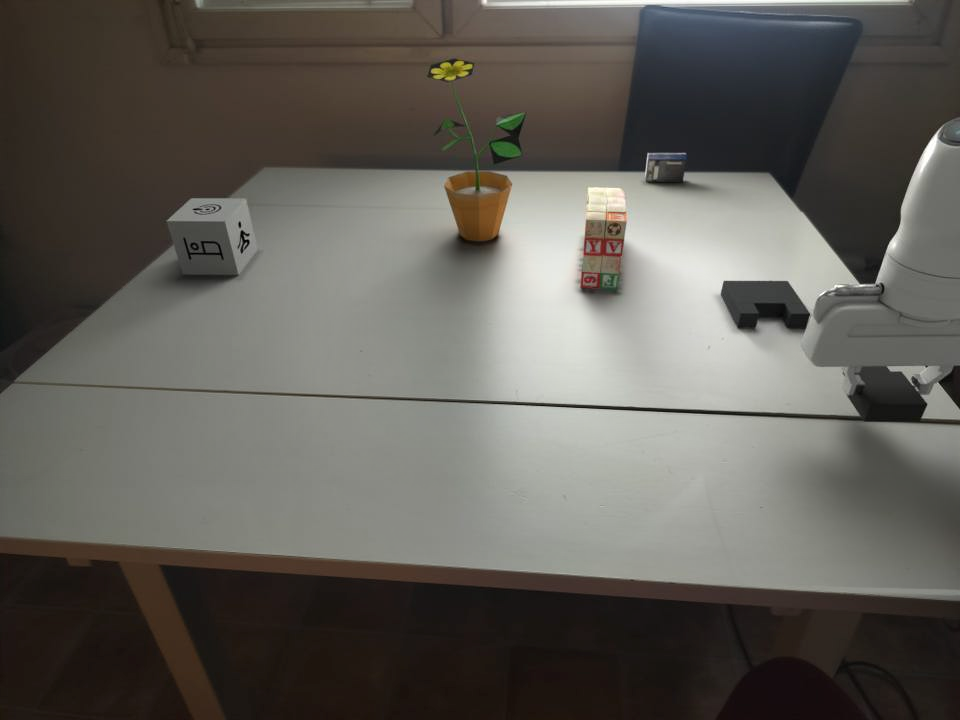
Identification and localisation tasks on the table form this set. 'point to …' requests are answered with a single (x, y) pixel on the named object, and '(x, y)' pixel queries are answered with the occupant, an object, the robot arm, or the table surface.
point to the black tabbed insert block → (887, 397)
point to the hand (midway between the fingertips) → (884, 392)
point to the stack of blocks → (603, 238)
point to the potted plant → (477, 192)
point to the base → (764, 303)
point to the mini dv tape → (665, 167)
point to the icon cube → (213, 236)
